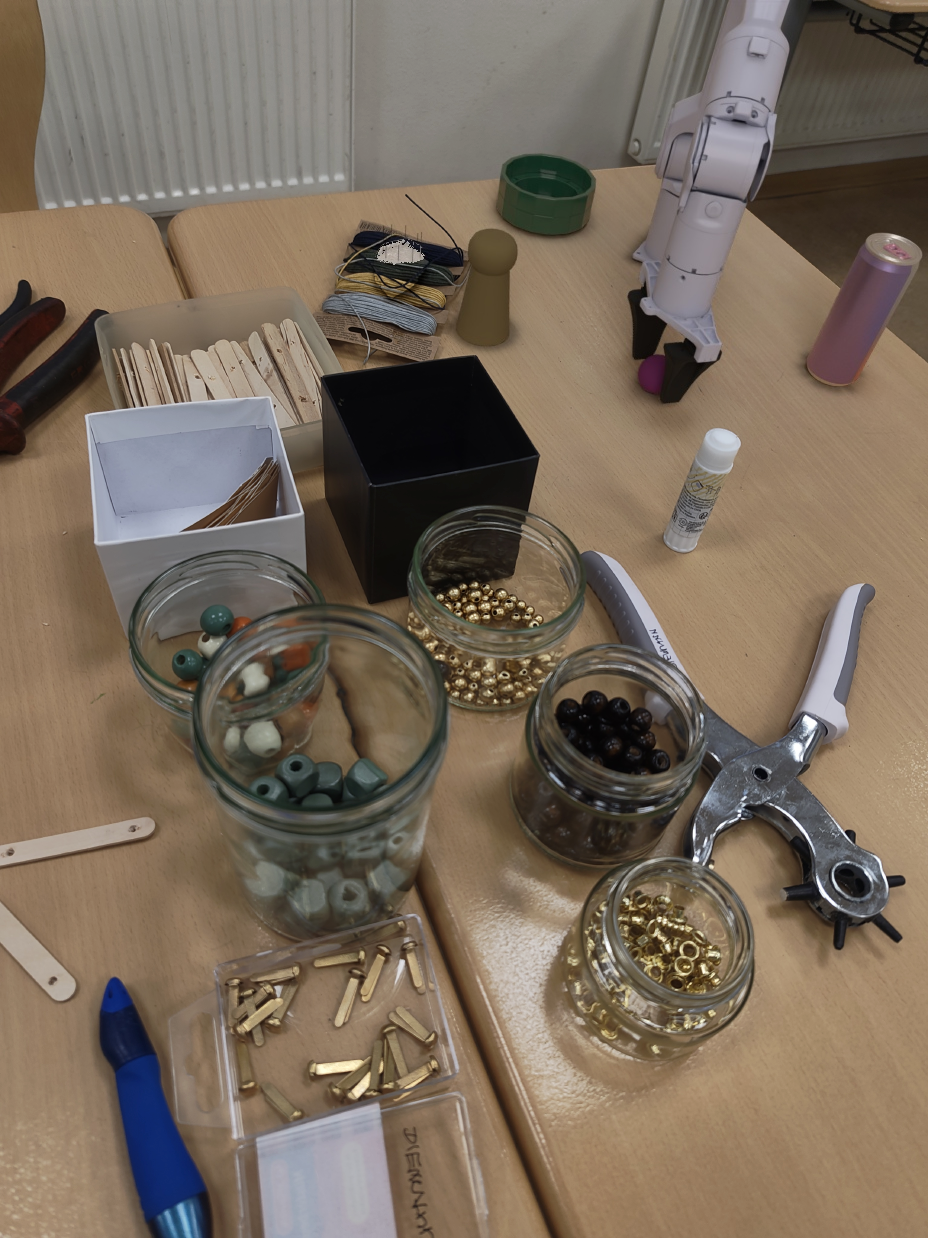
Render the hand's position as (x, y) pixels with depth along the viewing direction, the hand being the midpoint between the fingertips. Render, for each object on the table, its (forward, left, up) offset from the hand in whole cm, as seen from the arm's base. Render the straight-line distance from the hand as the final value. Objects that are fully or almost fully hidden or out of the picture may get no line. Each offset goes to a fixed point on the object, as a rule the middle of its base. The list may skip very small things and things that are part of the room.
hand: (655, 378), depth 92 cm
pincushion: (-2, -33, -2) cm, 33 cm away
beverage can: (-16, +16, -2) cm, 22 cm away
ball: (0, 0, -1) cm, 1 cm away
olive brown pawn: (+1, -20, -2) cm, 20 cm away
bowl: (-27, -26, -1) cm, 37 cm away
